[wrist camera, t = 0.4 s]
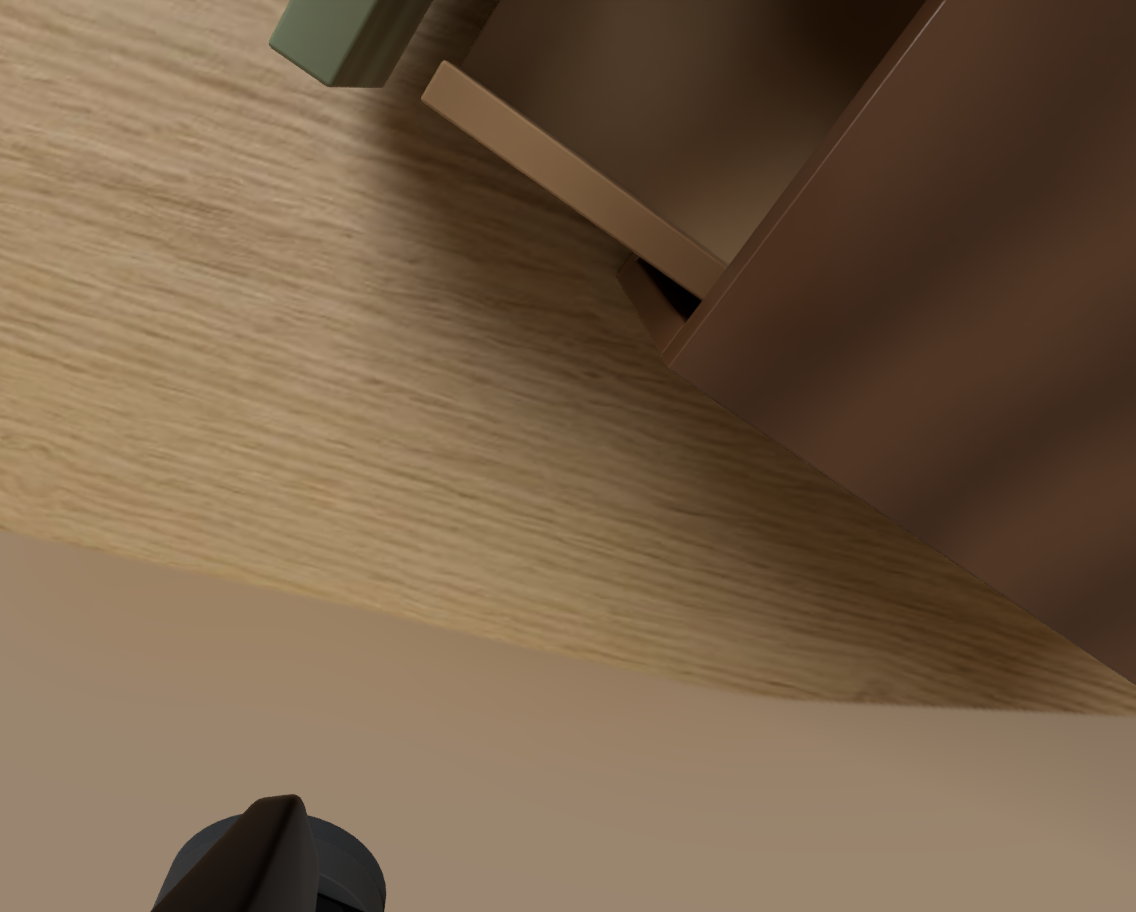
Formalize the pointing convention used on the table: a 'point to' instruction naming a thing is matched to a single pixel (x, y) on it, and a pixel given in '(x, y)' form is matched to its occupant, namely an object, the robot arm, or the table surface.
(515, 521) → the table surface
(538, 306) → the table surface
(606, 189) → the drawer
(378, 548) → the table surface
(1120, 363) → the cabinet
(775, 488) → the table surface
